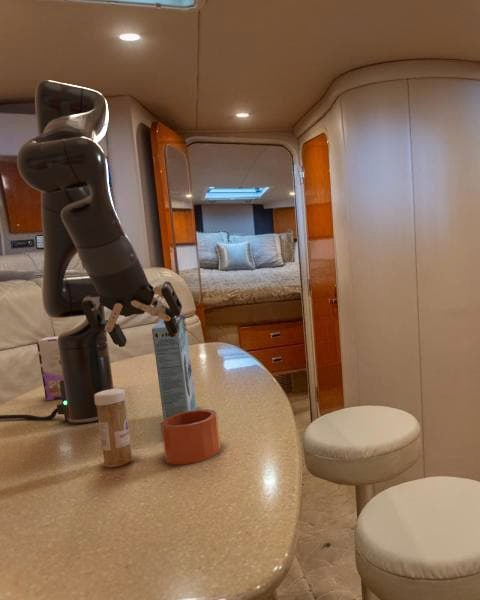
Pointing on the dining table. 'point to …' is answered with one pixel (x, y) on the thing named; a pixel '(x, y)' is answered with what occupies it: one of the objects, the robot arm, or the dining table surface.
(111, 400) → the sprinkles bottle
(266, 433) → the dining table surface
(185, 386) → the gum box
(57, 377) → the candy box
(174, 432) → the cup
